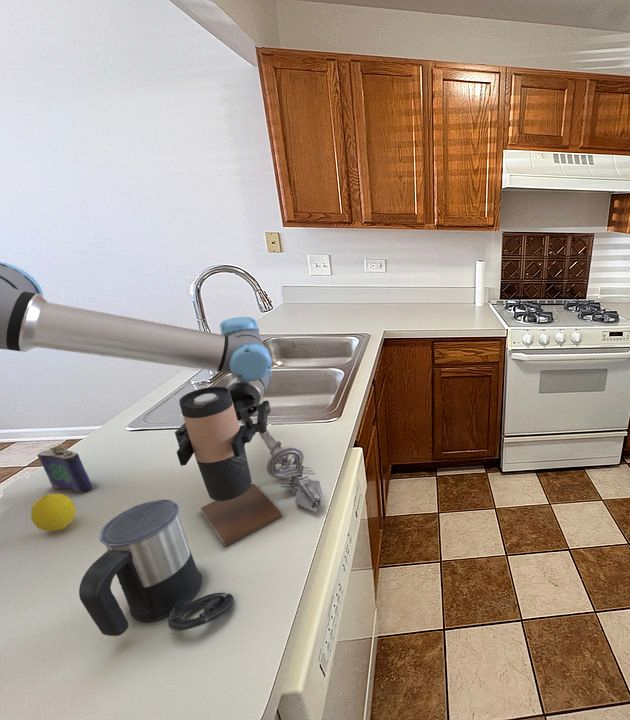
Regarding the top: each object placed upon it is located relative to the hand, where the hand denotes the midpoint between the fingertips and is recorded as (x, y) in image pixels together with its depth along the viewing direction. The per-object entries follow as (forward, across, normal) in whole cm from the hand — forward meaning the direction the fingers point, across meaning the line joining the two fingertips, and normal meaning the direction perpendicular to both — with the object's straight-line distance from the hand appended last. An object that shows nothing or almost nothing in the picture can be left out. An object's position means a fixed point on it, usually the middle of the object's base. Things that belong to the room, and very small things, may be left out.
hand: (208, 454), depth 68 cm
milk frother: (+14, +3, -18) cm, 23 cm away
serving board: (-5, 0, -18) cm, 19 cm away
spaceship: (-16, -8, -18) cm, 25 cm away
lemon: (-11, +32, -18) cm, 38 cm away
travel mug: (-5, 0, -11) cm, 12 cm away
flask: (-25, +37, -18) cm, 48 cm away
